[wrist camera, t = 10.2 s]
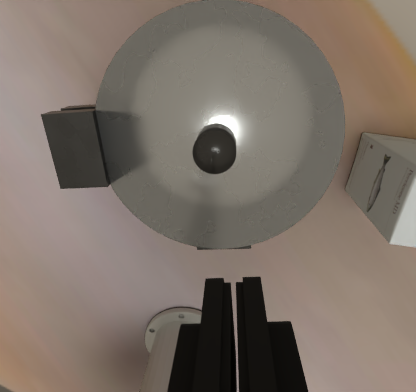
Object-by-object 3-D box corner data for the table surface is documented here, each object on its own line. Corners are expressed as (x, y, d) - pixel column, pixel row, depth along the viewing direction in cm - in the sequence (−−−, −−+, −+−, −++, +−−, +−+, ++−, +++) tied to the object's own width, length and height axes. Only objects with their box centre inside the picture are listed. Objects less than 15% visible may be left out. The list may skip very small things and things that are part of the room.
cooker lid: (330, 239, 29) (345, 267, 25) (86, 245, 31) (65, 271, 27) (352, -11, 21) (378, -27, 17) (30, 19, 23) (-10, 11, 20)
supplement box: (360, 130, 36) (420, 164, 25) (426, 139, 36) (517, 178, 25) (341, 190, 39) (387, 245, 28) (402, 199, 39) (473, 258, 28)
